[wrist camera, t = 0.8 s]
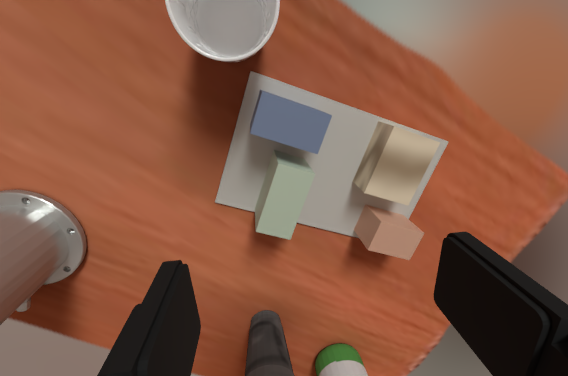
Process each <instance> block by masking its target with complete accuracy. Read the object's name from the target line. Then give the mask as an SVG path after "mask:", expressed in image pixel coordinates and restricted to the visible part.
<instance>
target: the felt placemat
mask: <svg viewBox="0 0 568 376" xmlns="http://www.w3.org/2000/svg"><path fill="white" fill-rule="evenodd" d="M260 90H263V91H266V92H269V93H272V94H275V95H277V96H280V97H283V98H286V99H289V100H292V101H295V102H298V103H301V104H303V105H306V106H309V107H312V108H315V109H318V110H320V111H323V112H325V113H328V114H330V115H332V118H331V120H330V123H329V126H328V128H327V131H326V134H325V136H324V139H323V142H322V144H321V147H320V150H319V152H318V154H314V153H311V152H308V151H305V150H302V149H298V148H295V147H292V146H289V145H285V144H282V143H279V142H276V141H272V140H269V139H266V138H263V137H260V136H256V135H253V134H250V123H251V120H252V116H253V113H254V109H255V106H256V102H257V99H258V95H259V92H260ZM378 121H379V122H382V123H386V124H389V125H392V126H395V127H398V128H401V129H404V130H407V131H409V132H412V133H415V134H418V135H421V136H423V137H426V138H429V139H432V140H435V141H438V142H440V144H439V146H438V148H437V150H436V152H435V154H434V156H433V158H432V160H431V162H430V164H429V166H428V168H427V170H426V172H425V174H424V176H423V178H422V180H421V182H420V184H419V186H418V188H417V190H416V192H415V194H414V195H413V197H412V199H411V201H410V203H409V205H404V204H401V203H397V202H394V201H390V200H387V199H383V198H380V197H376V196H373V195H369V194H366V193H364V192H363V191H362V190H361V189H360V188H359V187H358V186H357V185H356V184H355V183H354V182H353V179H354V177H355V175H356V172H357V170H358V168H359V165H360V163H361V161H362V158H363V156H364V154H365V151H366V149H367V147H368V144H369V142H370V140H371V137H372V135H373V133H374V130H375V128H376V126H377V123H378ZM447 144H448V141H445V140H443V139H440V138H437V137H434V136H431V135H429V134H426V133H423V132H420V131H417V130H415V129H412V128H409V127H406V126H403V125H401V124H398V123H395V122H392V121H389V120H387V119H384V118H381V117H378V116H375V115H373V114H370V113H367V112H364V111H361V110H359V109H356V108H353V107H350V106H348V105H345V104H342V103H339V102H336V101H334V100H331V99H328V98H325V97H322V96H320V95H317V94H314V93H311V92H308V91H306V90H303V89H300V88H297V87H294V86H292V85H289V84H286V83H283V82H280V81H278V80H275V79H272V78H269V77H267V76H264V75H261V74H258V73H255V72H253V71H251V72H250V76H249V79H248V83H247V87H246V90H245V94H244V98H243V101H242V105H241V109H240V112H239V116H238V120H237V123H236V127H235V131H234V134H233V138H232V142H231V145H230V149H229V153H228V157H227V160H226V164H225V168H224V171H223V175H222V179H221V182H220V186H219V190H218V193H217V197H216V201H215V202H216V203H220V204H224V205H228V206H232V207H236V208H240V209H244V210H248V211H252V212H255V206H256V203H257V200H258V197H259V194H260V191H261V188H262V185H263V182H264V178H265V175H266V172H267V169H268V166H269V163H270V160H271V157H272V154H273V151H274V150H276V151H280V152H283V153H286V154H290V155H293V156H296V157H300V158H303V159H305V160H306V162H307V163H308V164H309V166H310V167H311V169H312V170H313V172H314V173H315V176H314V179H313V181H312V184H311V187H310V189H309V192H308V195H307V197H306V200H305V202H304V205H303V208H302V210H301V213H300V216H299V218H298V221H297V223H300V224H304V225H308V226H312V227H316V228H320V229H324V230H328V231H333V232H337V233H341V234H345V235H349V236H353V237H357V238H359V237H358V235H357V234H356V233H355V231H354V228H355V226H356V224H357V221H358V219H359V217H360V215H361V213H362V210H363V208H364V206H365V204H366V205H369V206H373V207H376V208H380V209H384V210H387V211H391V212H394V213H398V214H401V215H404V216H405V217H406V218H407V219H409V217H410V215H411V213H412V211H413V209H414V207H415V206H416V204H417V202H418V200H419V198H420V196H421V194H422V192H423V190H424V188H425V186H426V184H427V182H428V180H429V178H430V177H431V175H432V173H433V171H434V169H435V167H436V165H437V163H438V161H439V159H440V157H441V155H442V153H443V151H444V150H445V148H446V146H447Z"/></svg>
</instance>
